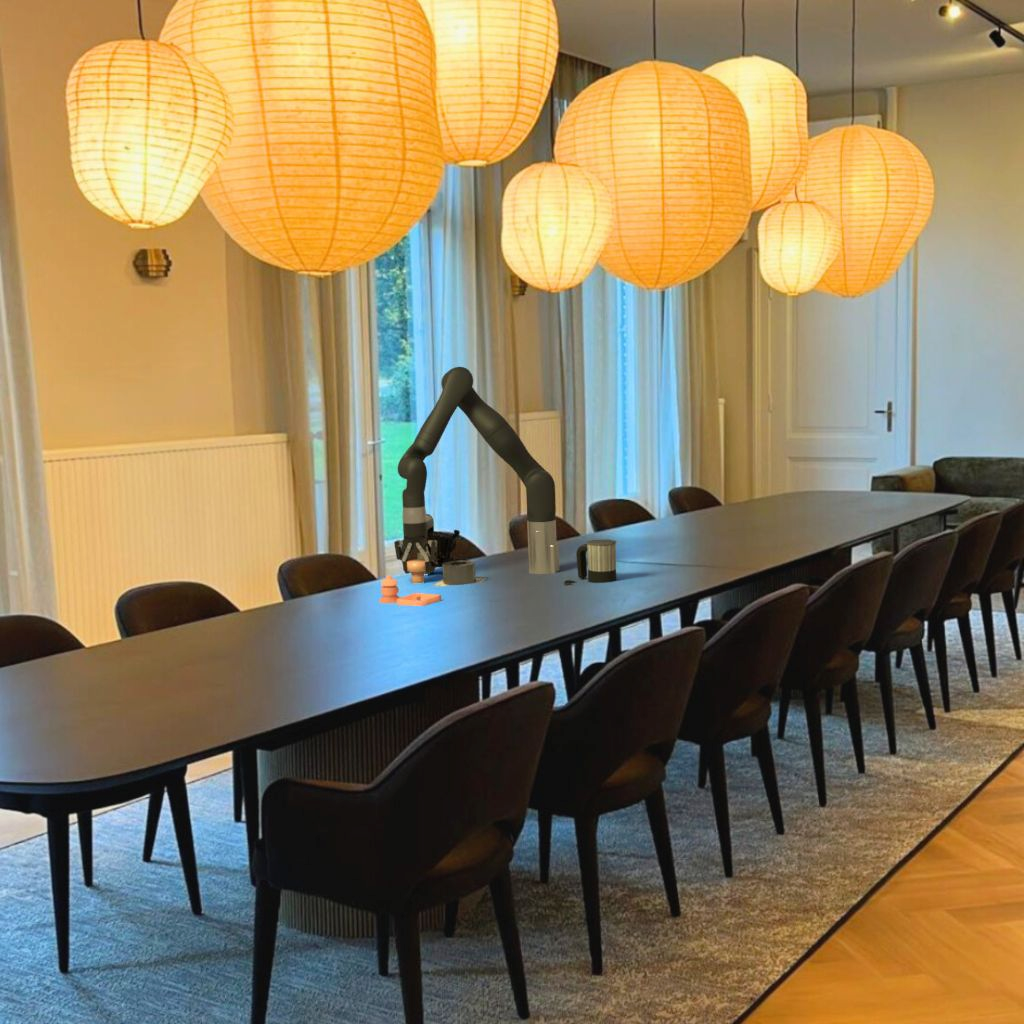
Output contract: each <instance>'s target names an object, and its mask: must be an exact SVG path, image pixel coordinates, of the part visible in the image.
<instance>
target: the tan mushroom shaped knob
mask: <svg viewBox="0 0 1024 1024" xmlns="http://www.w3.org/2000/svg"><path fill="white" fill-rule="evenodd" d="M425 562H426V561H425V560H424V559H418V558H417V559H410V560H409V559H408V561H407V571H408V572H409V573H411V574H410V575H411V584H412V583H423V582H424V583H425V576H424V571H426V570H425ZM424 583H423V584H424Z"/></svg>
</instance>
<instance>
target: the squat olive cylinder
mask: <svg viewBox="0 0 1024 1024" xmlns="http://www.w3.org/2000/svg"><path fill="white" fill-rule="evenodd" d="M441 568H442V580H443V583H444V584H447V585H450V586H462V585H463V586H464V584H465V585H471V584H475V583H477V582H476V578H477V575H476V574H477V572H476V562H475V561H473V560H469V561H464V560H459V561H450V562H445V563H443V564H442V567H441ZM474 582H475V583H474Z"/></svg>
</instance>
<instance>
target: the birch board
mask: <svg viewBox="0 0 1024 1024" xmlns="http://www.w3.org/2000/svg"><path fill="white" fill-rule="evenodd" d="M487 580H488V578H487V577H476V582H474V583H473V584H475V583H481V582H485V581H487ZM433 585H435V586H433ZM438 585H441V586H440V587H449V586H451V585H447V584H444V583H443V579H441V580H439V581H437V582H436V583H434V584H432V585H431V587H439V586H438Z"/></svg>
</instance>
